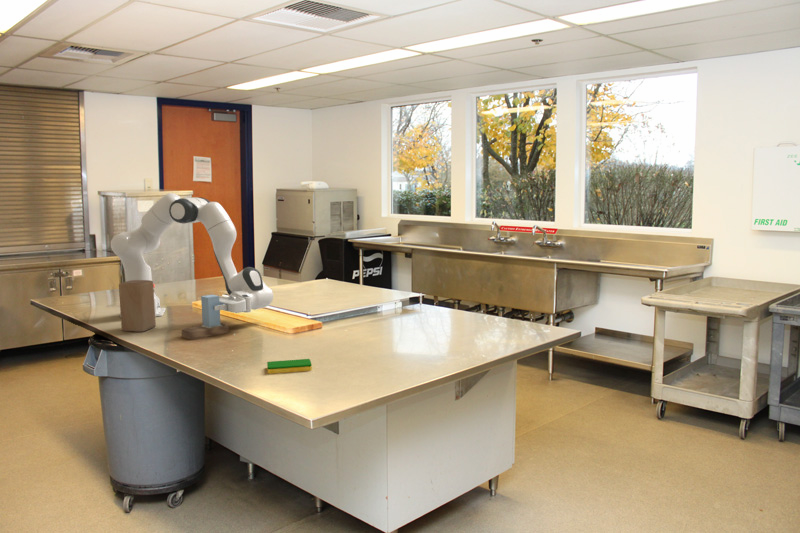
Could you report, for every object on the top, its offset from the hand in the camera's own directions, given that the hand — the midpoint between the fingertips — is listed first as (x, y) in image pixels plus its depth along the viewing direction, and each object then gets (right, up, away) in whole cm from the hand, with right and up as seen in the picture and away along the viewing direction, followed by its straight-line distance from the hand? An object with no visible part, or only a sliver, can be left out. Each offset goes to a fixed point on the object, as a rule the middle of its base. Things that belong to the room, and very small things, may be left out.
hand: (208, 307), depth 255 cm
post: (+1, -8, +2) cm, 8 cm away
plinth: (-1, -11, 0) cm, 11 cm away
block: (-32, -10, +10) cm, 35 cm away
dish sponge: (+40, -18, -47) cm, 65 cm away
